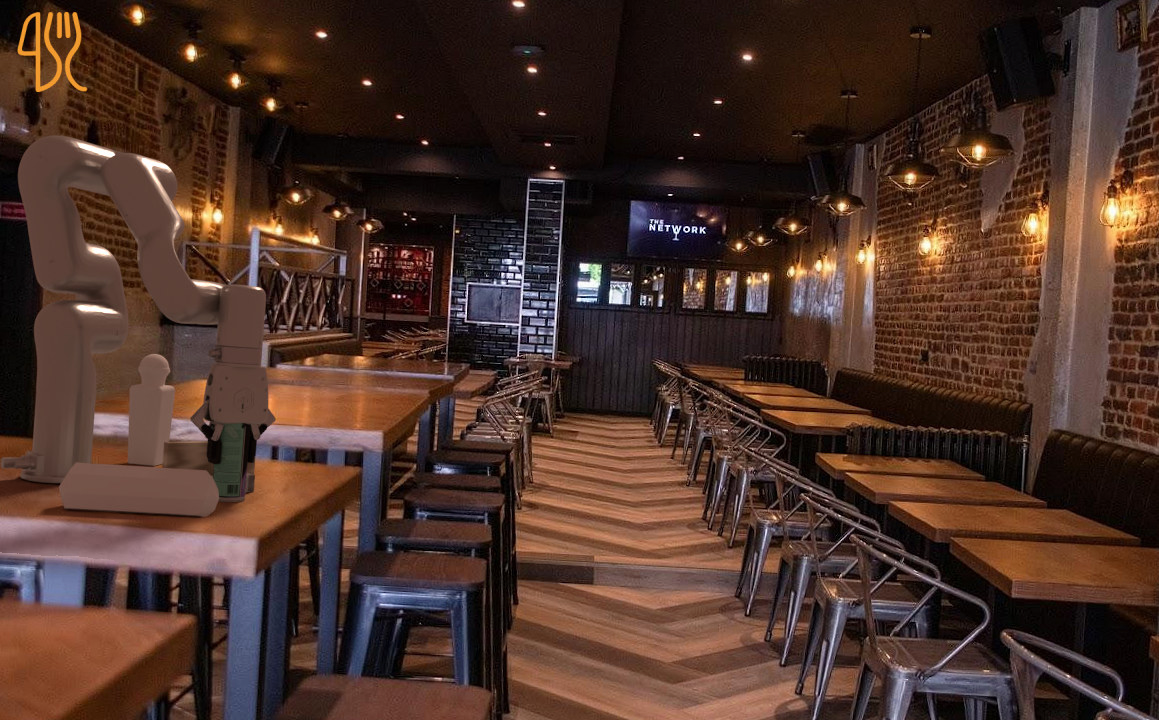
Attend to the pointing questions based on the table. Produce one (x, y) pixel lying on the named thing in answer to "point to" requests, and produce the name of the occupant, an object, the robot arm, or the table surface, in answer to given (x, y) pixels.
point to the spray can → (232, 462)
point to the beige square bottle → (150, 412)
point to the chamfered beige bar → (139, 490)
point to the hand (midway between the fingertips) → (231, 461)
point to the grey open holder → (197, 459)
